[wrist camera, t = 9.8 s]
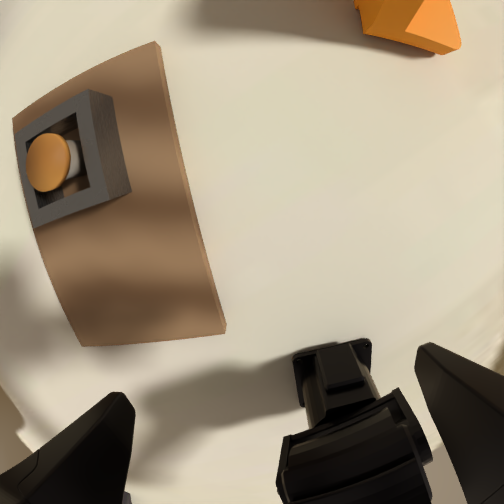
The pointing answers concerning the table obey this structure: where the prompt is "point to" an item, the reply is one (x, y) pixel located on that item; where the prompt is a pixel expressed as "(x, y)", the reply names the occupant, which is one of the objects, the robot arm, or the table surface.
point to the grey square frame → (94, 151)
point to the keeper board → (125, 217)
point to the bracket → (412, 23)
